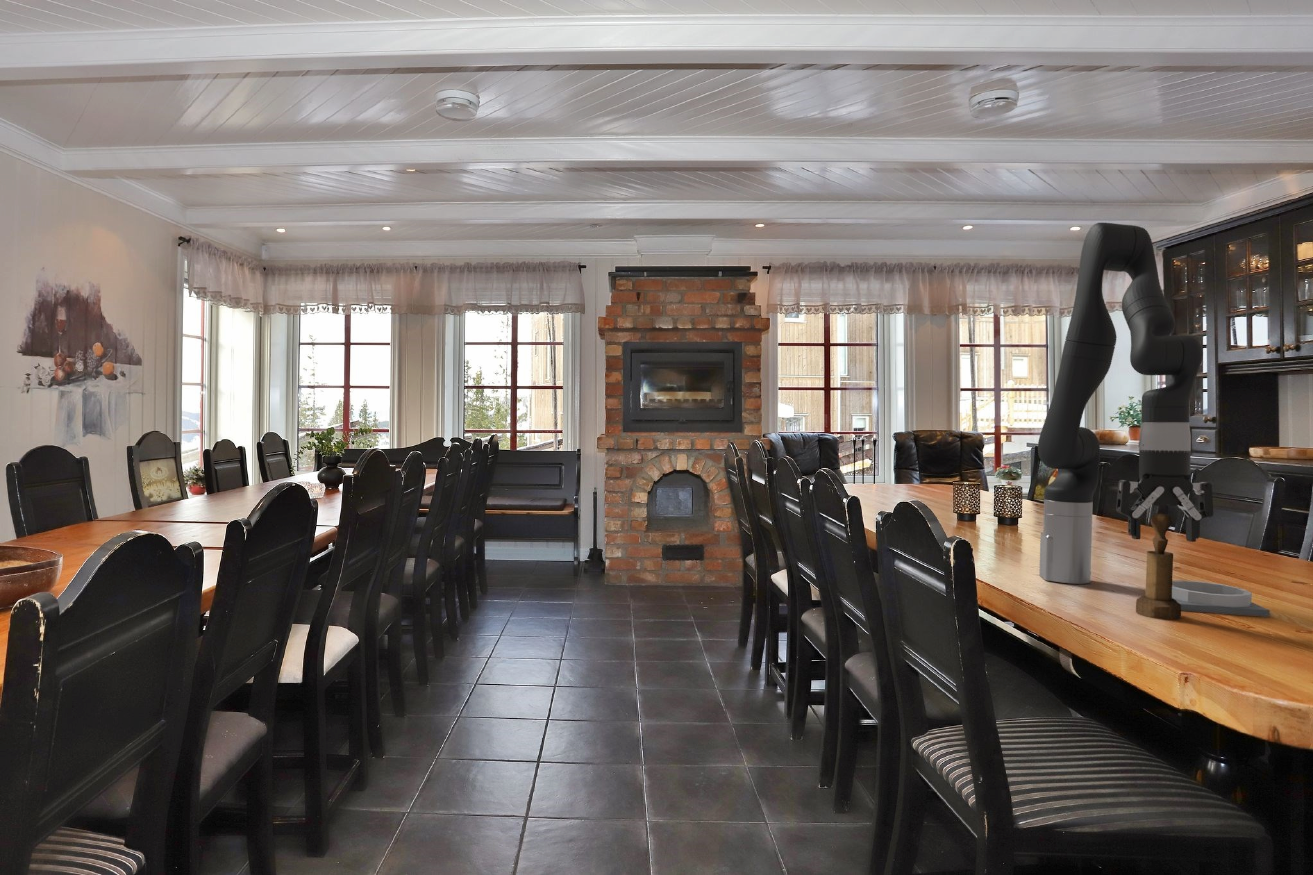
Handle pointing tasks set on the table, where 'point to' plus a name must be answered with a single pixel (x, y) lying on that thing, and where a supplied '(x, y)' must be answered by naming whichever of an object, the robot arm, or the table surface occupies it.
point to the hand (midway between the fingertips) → (1163, 540)
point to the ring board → (1215, 598)
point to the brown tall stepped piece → (1159, 576)
